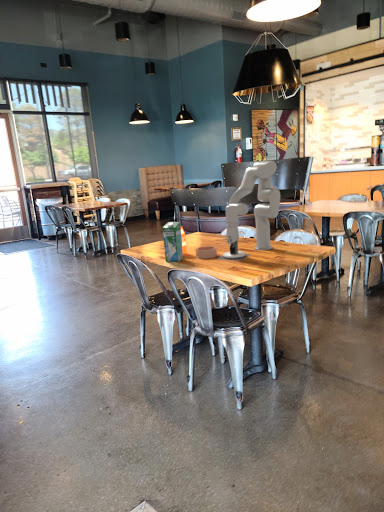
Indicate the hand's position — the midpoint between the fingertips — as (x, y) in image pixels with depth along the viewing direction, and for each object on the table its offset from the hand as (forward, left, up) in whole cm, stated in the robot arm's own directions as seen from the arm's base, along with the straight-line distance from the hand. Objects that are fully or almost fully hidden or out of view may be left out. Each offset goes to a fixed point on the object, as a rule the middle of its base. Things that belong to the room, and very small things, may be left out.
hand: (234, 251), depth 250 cm
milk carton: (+15, -37, -4) cm, 40 cm away
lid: (0, 0, -2) cm, 2 cm away
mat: (0, 0, -4) cm, 4 cm away
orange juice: (-3, -44, -4) cm, 44 cm away
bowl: (+2, -19, -4) cm, 20 cm away
